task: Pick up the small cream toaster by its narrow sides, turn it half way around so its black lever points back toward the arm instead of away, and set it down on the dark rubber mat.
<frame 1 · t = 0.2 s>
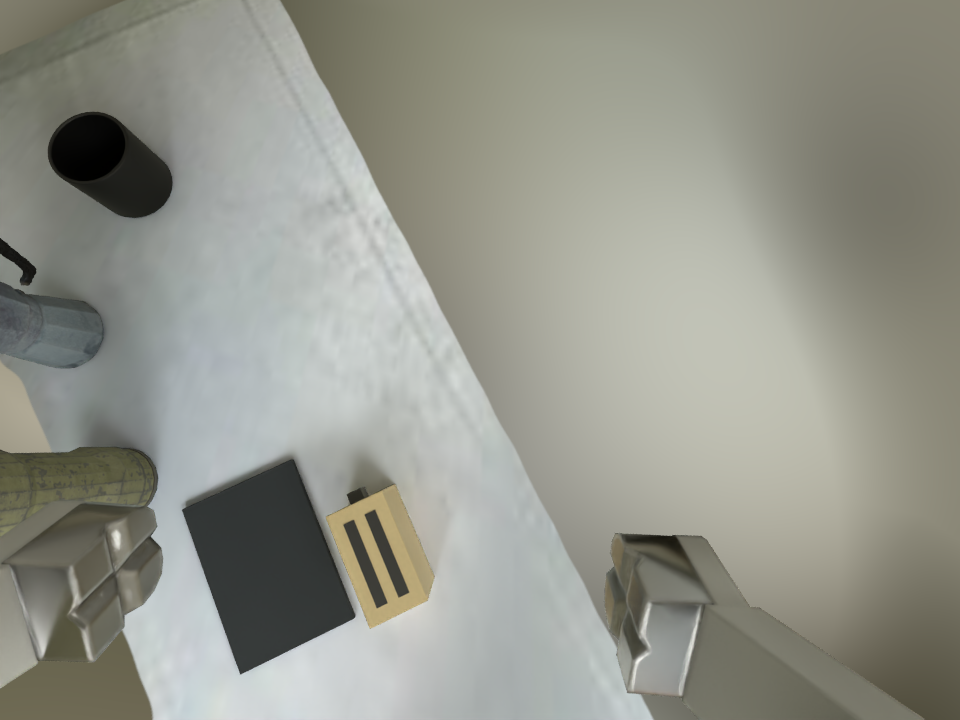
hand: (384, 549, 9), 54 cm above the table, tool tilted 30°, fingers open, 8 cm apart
mat: (269, 561, 59), on the table
moka pot: (72, 332, 64), on the table
thermos: (123, 484, 61), on the table
toaster: (390, 541, 60), on the table
mug: (135, 180, 68), on the table
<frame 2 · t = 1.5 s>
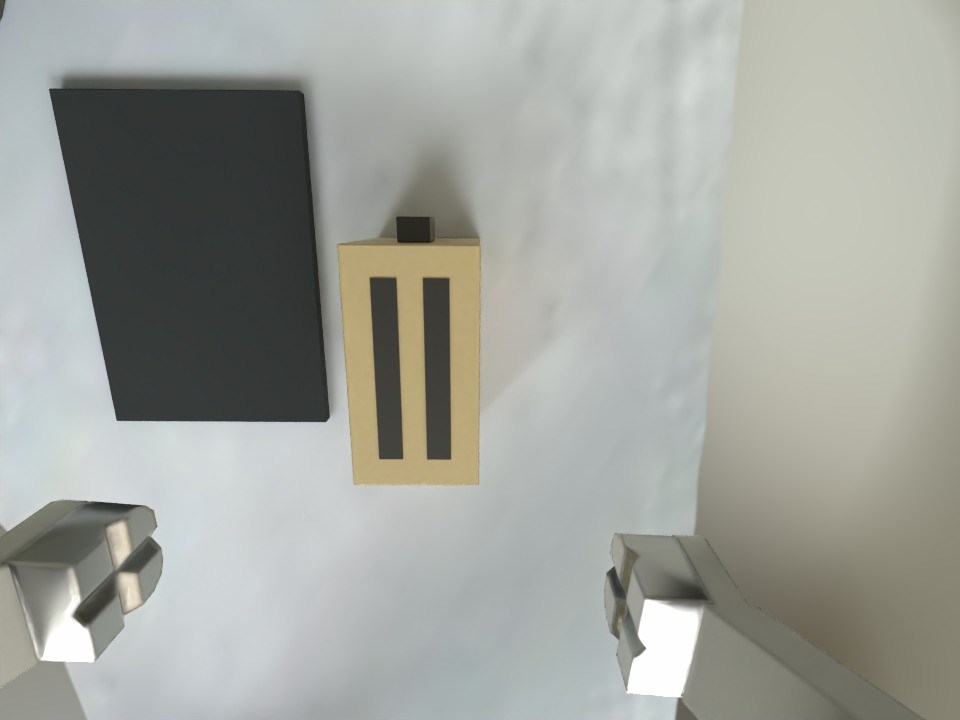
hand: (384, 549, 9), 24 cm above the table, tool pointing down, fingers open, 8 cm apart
mat: (206, 269, 31), on the table
toaster: (430, 332, 32), on the table
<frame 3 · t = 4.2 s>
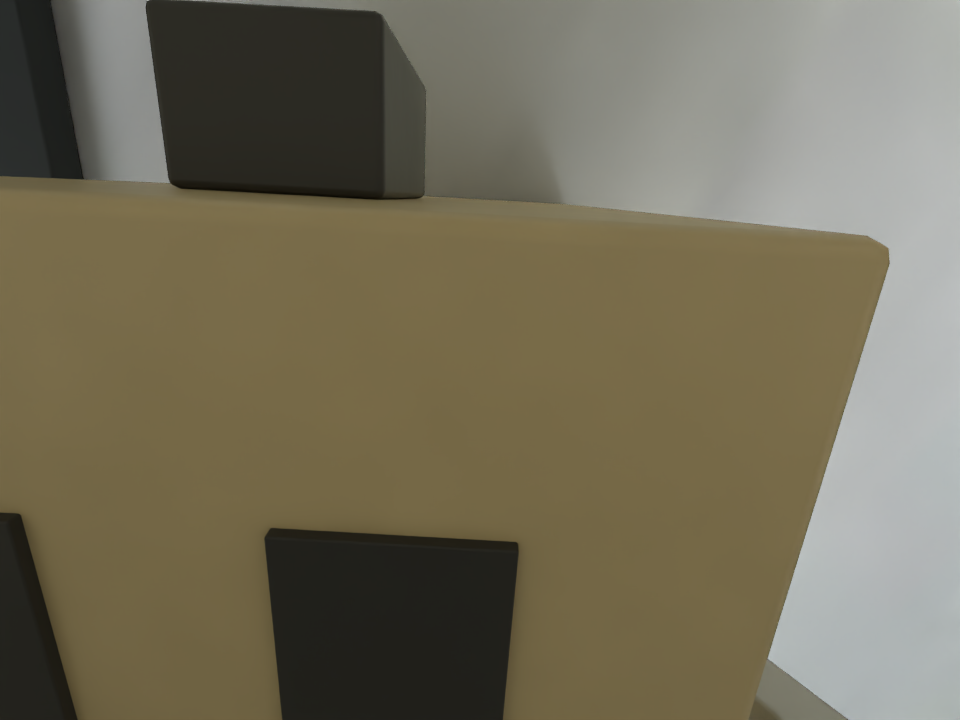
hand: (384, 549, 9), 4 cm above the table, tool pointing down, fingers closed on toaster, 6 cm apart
toaster: (412, 449, 12), on the table, touching gripper
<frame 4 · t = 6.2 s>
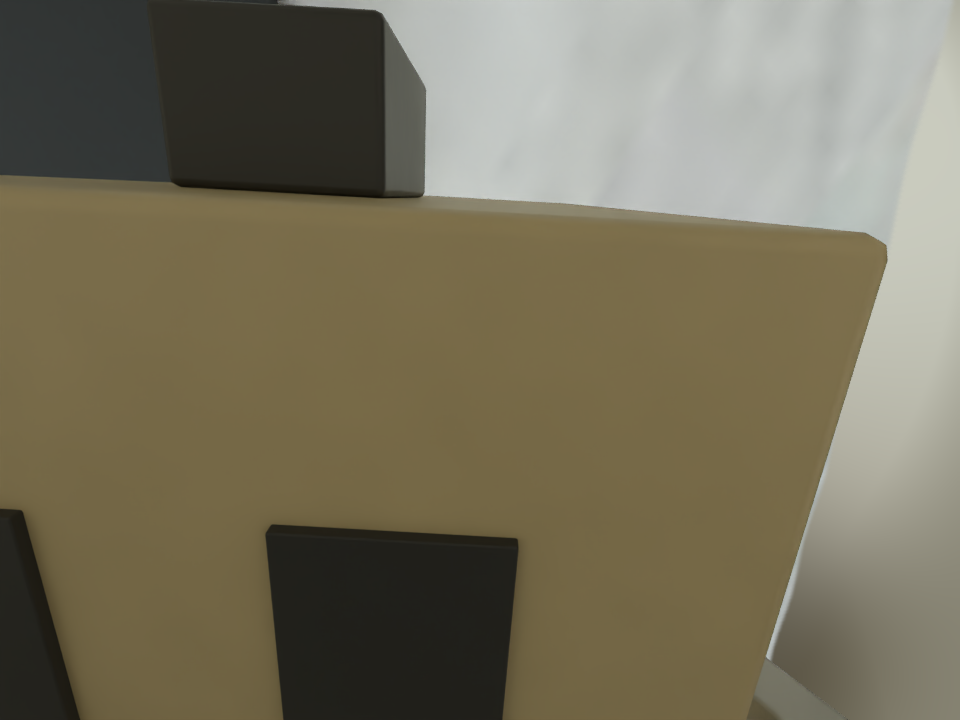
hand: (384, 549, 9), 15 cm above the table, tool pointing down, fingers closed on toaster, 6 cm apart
mat: (130, 215, 21), on the table
toaster: (412, 448, 12), point 11 cm above the table, touching gripper
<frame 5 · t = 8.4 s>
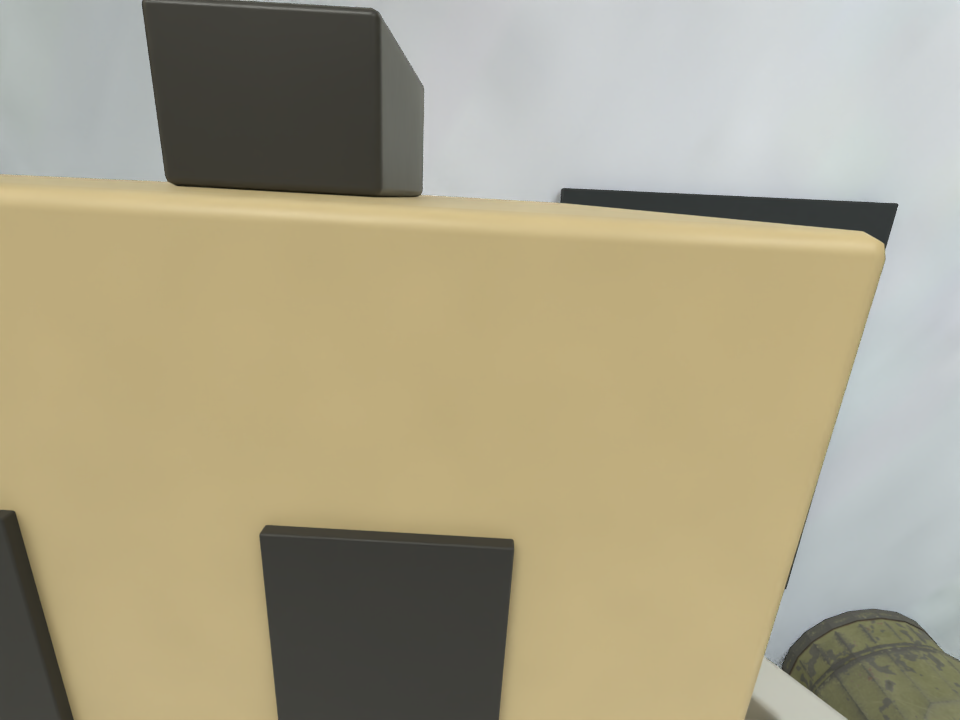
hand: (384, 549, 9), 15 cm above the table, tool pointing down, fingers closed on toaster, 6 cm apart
mat: (683, 408, 25), on the table
thermos: (853, 662, 30), on the table
toaster: (411, 448, 12), point 12 cm above the table, touching gripper
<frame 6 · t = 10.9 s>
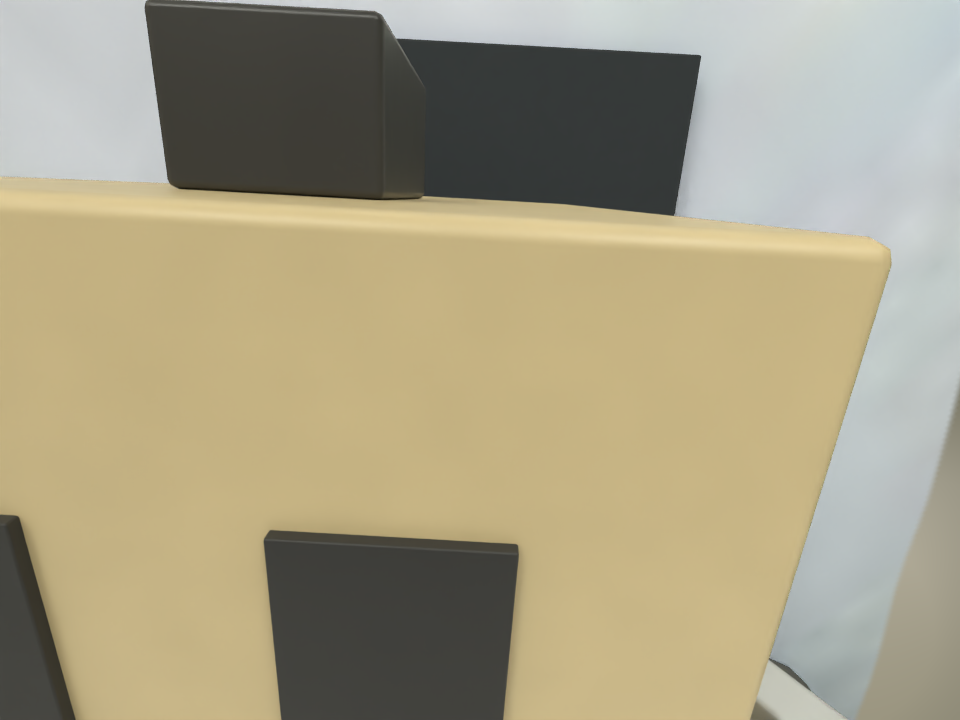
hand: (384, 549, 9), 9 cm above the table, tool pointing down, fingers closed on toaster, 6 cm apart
mat: (438, 374, 17), on the table
toaster: (411, 449, 12), point 5 cm above the table, touching gripper
when the fingers open (4 cm above the table, at t = 12.7 s): toaster stays where it is, resting on mat.
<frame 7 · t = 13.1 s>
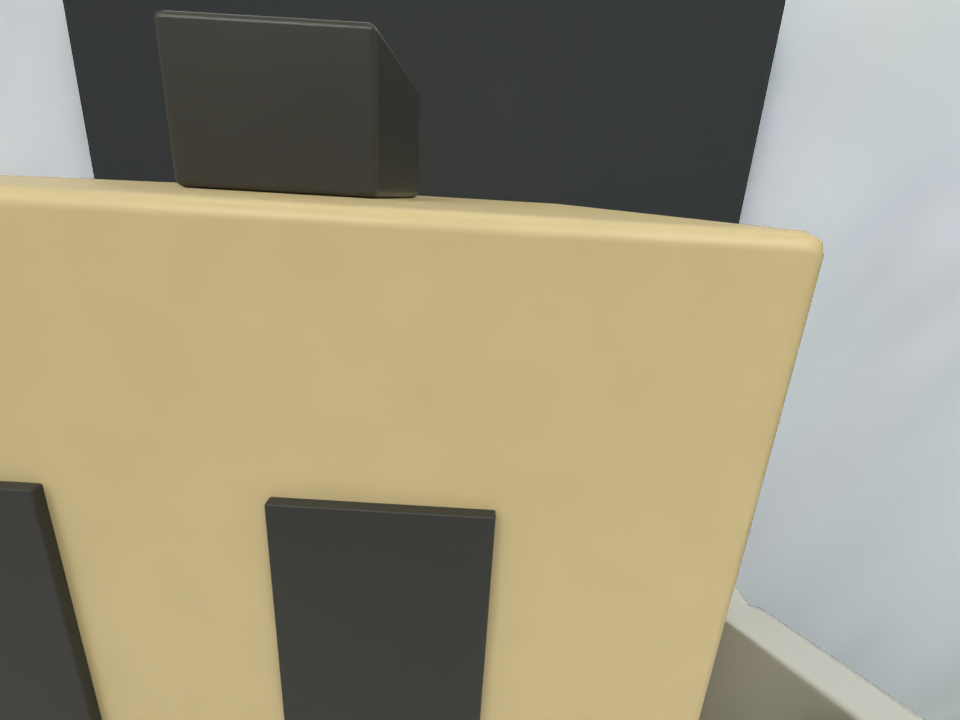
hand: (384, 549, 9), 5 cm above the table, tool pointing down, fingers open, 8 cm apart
mat: (417, 431, 13), on the table
toaster: (408, 444, 13), point 1 cm above the table, touching mat
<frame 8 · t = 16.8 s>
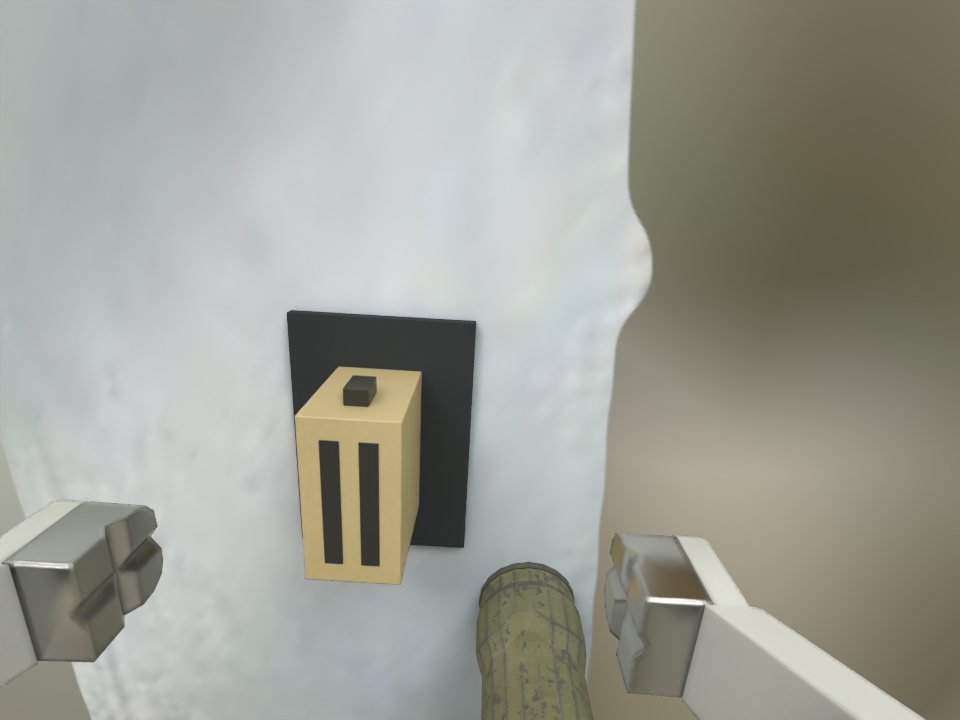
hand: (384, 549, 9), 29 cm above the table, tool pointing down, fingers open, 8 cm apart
mat: (384, 435, 41), on the table
thermos: (526, 598, 46), on the table
toaster: (380, 439, 40), point 1 cm above the table, touching mat
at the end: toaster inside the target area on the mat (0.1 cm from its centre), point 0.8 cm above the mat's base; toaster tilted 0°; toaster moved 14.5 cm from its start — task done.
